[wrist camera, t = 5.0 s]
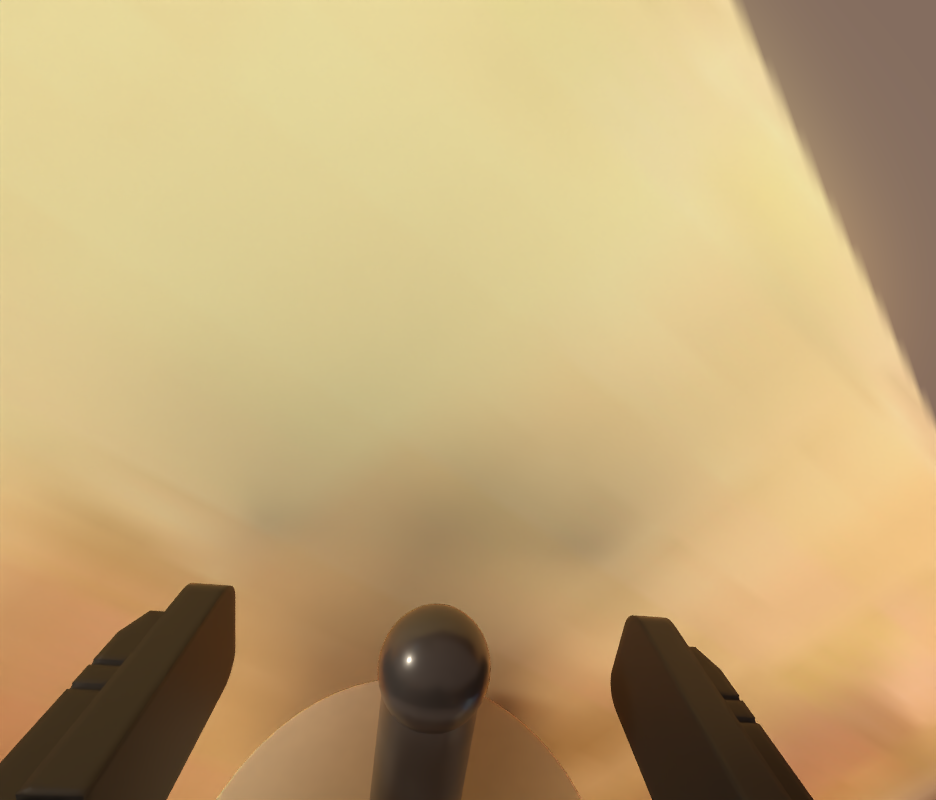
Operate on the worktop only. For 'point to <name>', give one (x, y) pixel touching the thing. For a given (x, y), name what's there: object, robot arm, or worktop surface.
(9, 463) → the worktop surface
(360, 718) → the towel holder
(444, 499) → the worktop surface
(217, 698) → the robot arm
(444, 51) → the worktop surface
